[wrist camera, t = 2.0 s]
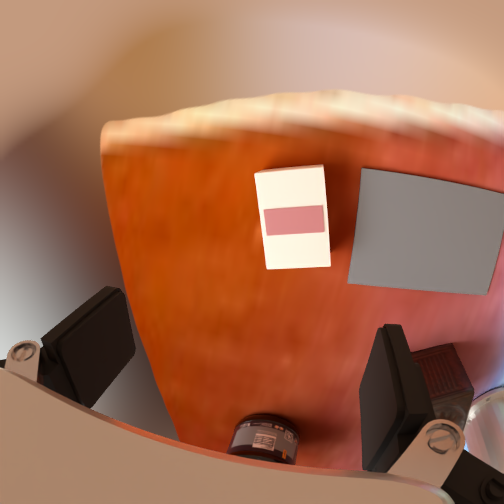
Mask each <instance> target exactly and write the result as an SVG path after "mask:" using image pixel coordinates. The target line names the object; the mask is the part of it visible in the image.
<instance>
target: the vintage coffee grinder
mask: <svg viewBox="0 0 504 504" xmlns="http://www.w3.org/2000/svg"><path fill="white" fill-rule="evenodd" d="M411 355H412V358H413V362H414V363H418V364H419V365H420V367H421V369H422V372H423V376H424V379H425V382H426V385H427V388H428V392H429V395H430V398H431V402H432V405H433V409H434V413H435V416H436V420H438V419H443V420H448V421H451V422H453V423H455V424H456V425H458V426H459V427H460V429H461V430H462V431H464V428H465V425H466V421H467V418H468V414H469V411H470V407H471V404H472V400H473V396H474V388H473V387H472V385H471V382H470V380H469V378H468V376H467V374H466V371H465V369H464V367H463V365H462V363H461V361H460V359H459V357H458V355H457V353H456V351H455V348H454V346H453V344H452V343H450V344H445V345H440V346H436V347H432V348H428V349H424V350H420V351H416V352H412V353H411Z"/></svg>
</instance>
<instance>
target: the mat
mask: <svg viewBox="0 0 504 504" xmlns="http://www.w3.org/2000/svg"><path fill="white" fill-rule="evenodd" d="M503 231H504V194H502V193H498V192H494V191H490V190H486V189H481V188H477V187H472V186H468V185H463V184H458V183H453V182H448V181H443V180H438V179H432V178H427V177H421V176H415V175H409V174H402V173H396V172H389V171H382V170H374V169H366V168H361V180H360V191H359V201H358V210H357V219H356V227H355V235H354V242H353V249H352V256H351V263H350V269H349V276H348V283H351V284H361V285H371V286H381V287H392V288H403V289H414V290H426V291H437V292H450V293H462V294H475V295H487V291H488V288H489V285H490V282H491V279H492V275H493V272H494V268H495V265H496V261H497V257H498V253H499V249H500V245H501V240H502V236H503Z"/></svg>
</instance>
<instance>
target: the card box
mask: <svg viewBox="0 0 504 504" xmlns="http://www.w3.org/2000/svg"><path fill="white" fill-rule="evenodd" d="M255 182H256V189H257V197H258V204H259V212H260V220H261V227H262V235H263V243H264V251H265V258H266V266H267V269H284V268H306V267H326V266H331V264H330V244H329V228H328V214H327V201H326V189H325V179H324V169H323V164H322V165H309V166H297V167H287V168H276V169H267V170H261V171H259V172H257V173H255Z"/></svg>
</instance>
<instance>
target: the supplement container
mask: <svg viewBox="0 0 504 504" xmlns="http://www.w3.org/2000/svg"><path fill="white" fill-rule="evenodd" d="M299 441H300V436H299V433H298V431H297V429H296V428H295V427H294V426H293V425H292V424H291V423H289V422H288V421H286V420H284V419H281V418H279V417H275V416H270V415H253V416H248V417H246V418H244V419H242V420H241V421H239V422H238V424H237V425H236V427H235V429H234V434H233V436H232V439H231V442H230V445H229V448H228V450H227V453H226V454H229V455H234V456H239V457H244V458H250V459H255V460H261V461H267V462H274V463H281V464H289V465H295V462H296V456H297V450H298V445H299Z"/></svg>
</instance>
